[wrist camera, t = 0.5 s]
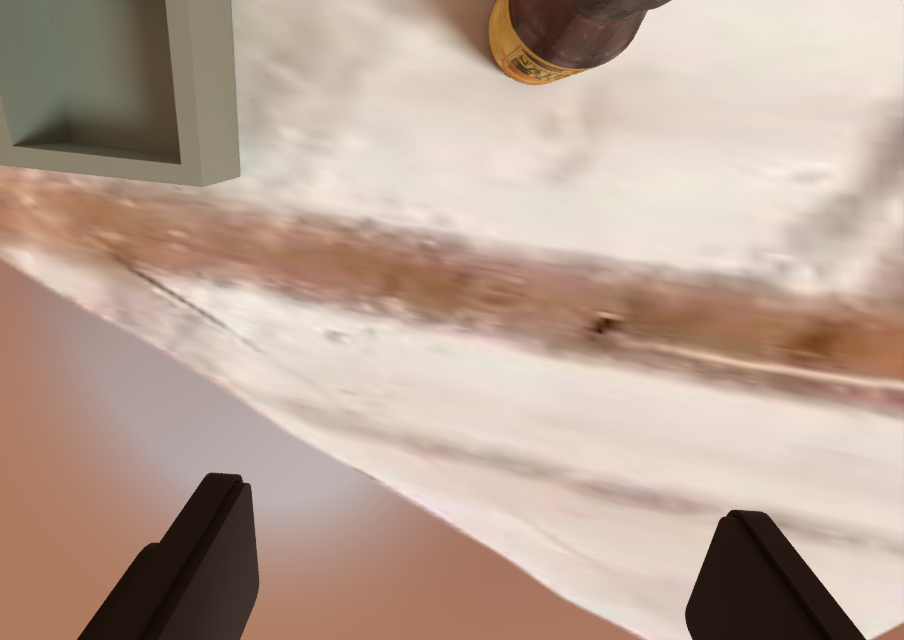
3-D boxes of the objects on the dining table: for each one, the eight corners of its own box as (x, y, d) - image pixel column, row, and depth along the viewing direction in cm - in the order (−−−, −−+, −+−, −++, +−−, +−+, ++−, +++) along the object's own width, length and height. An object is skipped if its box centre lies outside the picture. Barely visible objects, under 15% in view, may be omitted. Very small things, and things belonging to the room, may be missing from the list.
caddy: (27, -51, 31) (-63, -87, 25) (229, -26, 31) (182, -56, 26) (65, 157, 35) (-4, 164, 30) (240, 176, 36) (202, 186, 31)
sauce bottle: (493, 95, 34) (541, 69, 15) (479, -12, 31) (516, -190, 13) (589, 76, 33) (757, 26, 15) (582, -34, 31) (770, -251, 13)
